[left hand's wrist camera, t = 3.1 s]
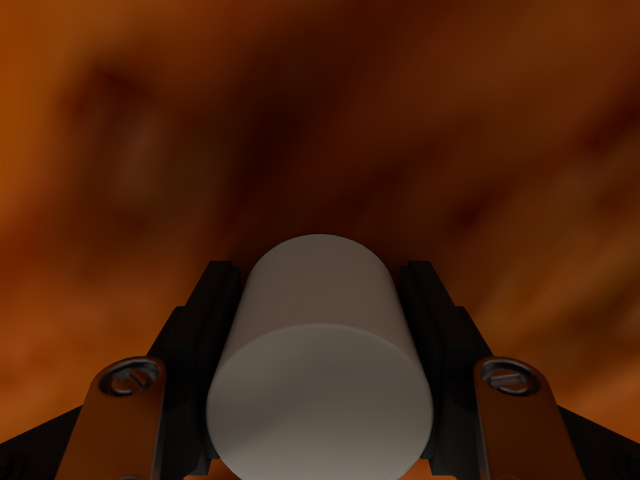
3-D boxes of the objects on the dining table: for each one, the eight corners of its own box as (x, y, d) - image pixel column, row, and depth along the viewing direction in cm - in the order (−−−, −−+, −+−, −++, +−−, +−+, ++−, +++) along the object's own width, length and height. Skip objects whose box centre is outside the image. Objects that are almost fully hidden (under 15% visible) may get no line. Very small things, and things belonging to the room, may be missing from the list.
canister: (236, 357, 13) (197, 492, 9) (251, 221, 12) (213, 308, 7) (378, 376, 13) (405, 516, 9) (412, 245, 12) (462, 343, 8)
